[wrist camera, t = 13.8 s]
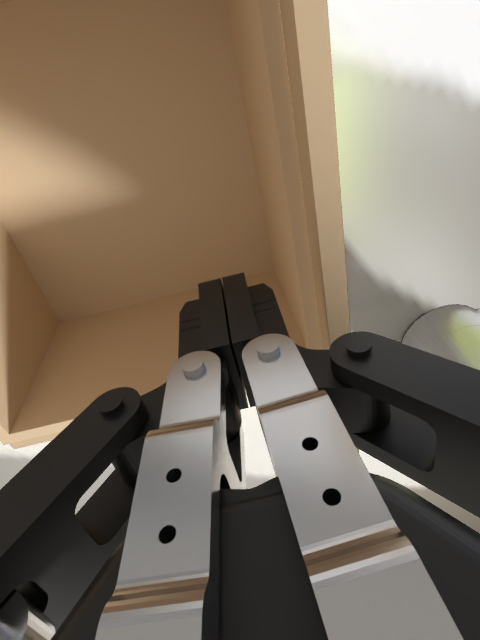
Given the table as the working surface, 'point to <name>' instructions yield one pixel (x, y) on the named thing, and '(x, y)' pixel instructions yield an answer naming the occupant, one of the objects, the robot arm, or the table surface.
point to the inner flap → (318, 157)
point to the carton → (137, 191)
